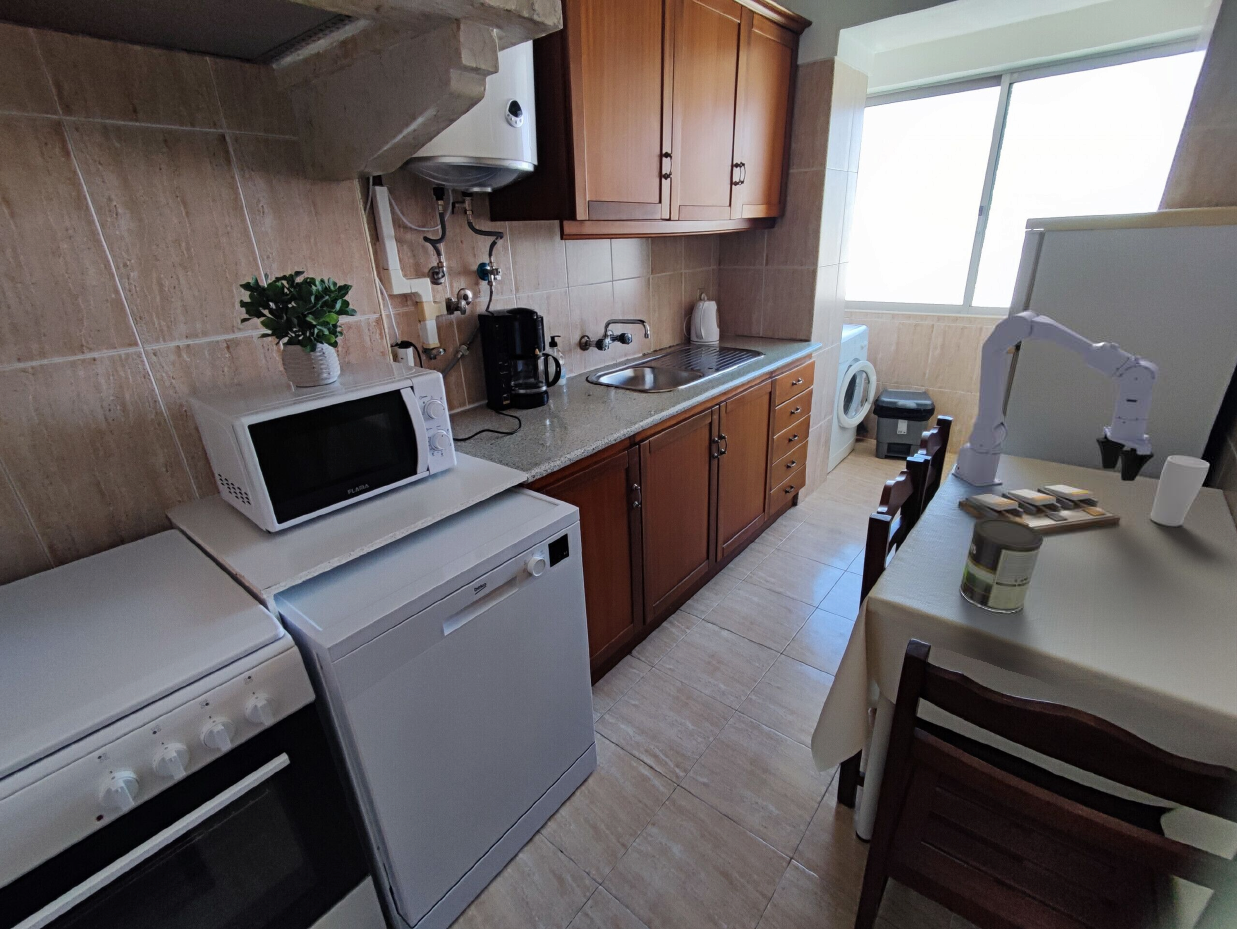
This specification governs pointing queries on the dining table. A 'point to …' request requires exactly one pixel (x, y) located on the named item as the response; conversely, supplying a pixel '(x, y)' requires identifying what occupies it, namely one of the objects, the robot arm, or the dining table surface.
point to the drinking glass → (1178, 489)
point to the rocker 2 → (1069, 492)
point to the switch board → (1047, 513)
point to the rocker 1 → (995, 502)
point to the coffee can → (1000, 563)
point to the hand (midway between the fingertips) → (1117, 474)
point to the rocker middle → (1032, 497)
